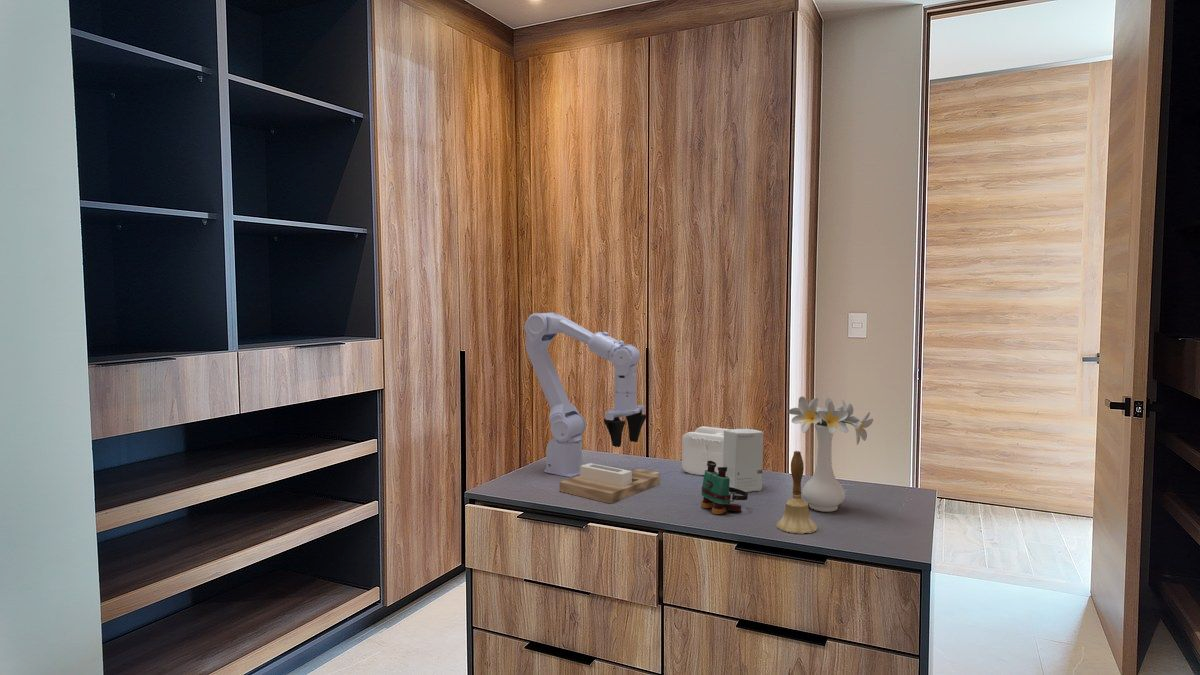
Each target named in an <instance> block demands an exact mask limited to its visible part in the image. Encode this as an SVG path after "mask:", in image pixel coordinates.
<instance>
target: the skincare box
mask: <svg viewBox="0 0 1200 675" xmlns="http://www.w3.org/2000/svg"><path fill="white" fill-rule="evenodd" d="M728 429H729V430H724V452H723V467H727V471H726V475H725V476H727V477H729V478H730V485H729V487H732V488H736V489H739V490H742V491H745V492H746V493H749V492H760V491H763V468H764V466H763V462H764V460H763V459H764V431H761V430H758V429H753V428H734V429H732V428H731V429H730V428H728ZM732 493H734V492H732ZM734 494H735V493H734Z"/></svg>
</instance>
